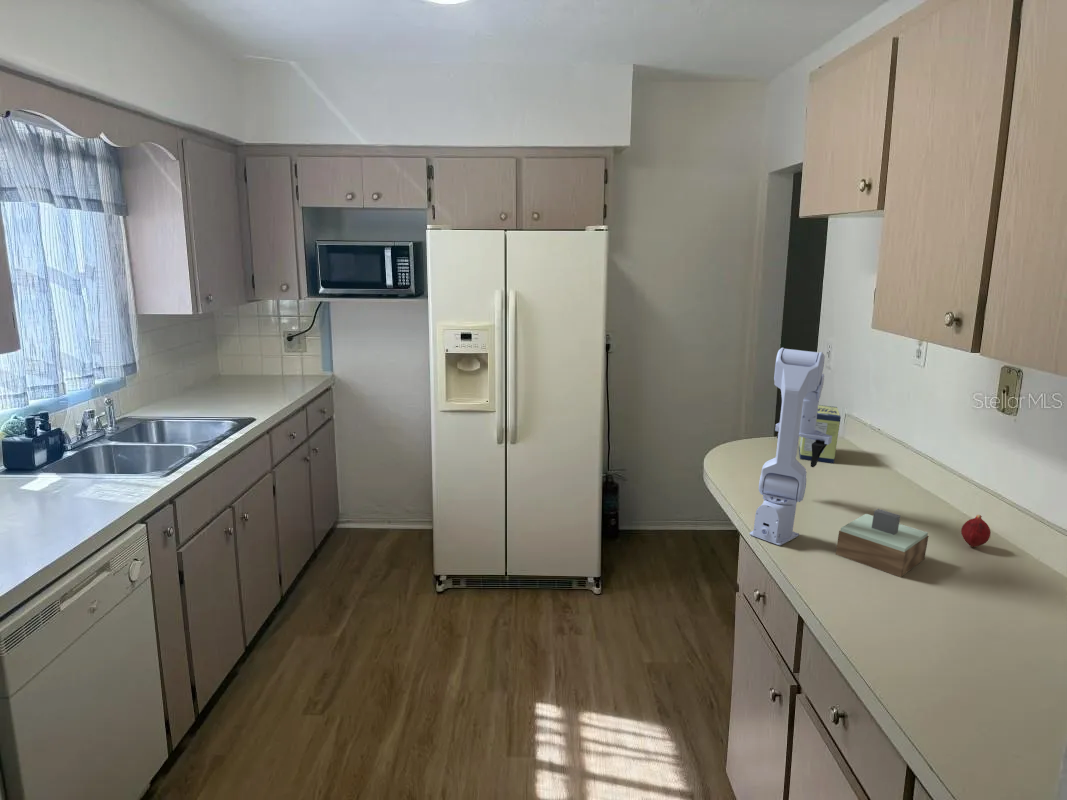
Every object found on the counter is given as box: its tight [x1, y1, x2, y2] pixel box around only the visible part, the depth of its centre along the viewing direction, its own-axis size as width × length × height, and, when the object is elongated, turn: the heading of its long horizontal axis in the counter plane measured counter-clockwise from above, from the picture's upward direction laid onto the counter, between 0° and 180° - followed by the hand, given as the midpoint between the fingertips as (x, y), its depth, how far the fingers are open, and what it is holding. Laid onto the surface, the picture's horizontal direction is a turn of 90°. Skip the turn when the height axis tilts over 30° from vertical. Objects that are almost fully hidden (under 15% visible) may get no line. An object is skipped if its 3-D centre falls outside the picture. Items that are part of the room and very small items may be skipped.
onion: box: [960, 514, 991, 548], centre depth 168 cm, size 6×6×8 cm
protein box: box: [798, 404, 841, 464], centre depth 236 cm, size 10×16×16 cm
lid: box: [840, 508, 929, 552], centre depth 159 cm, size 14×14×5 cm
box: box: [835, 529, 930, 578], centre depth 161 cm, size 14×14×6 cm
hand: (799, 461), depth 193 cm, fingers open, 7 cm apart
